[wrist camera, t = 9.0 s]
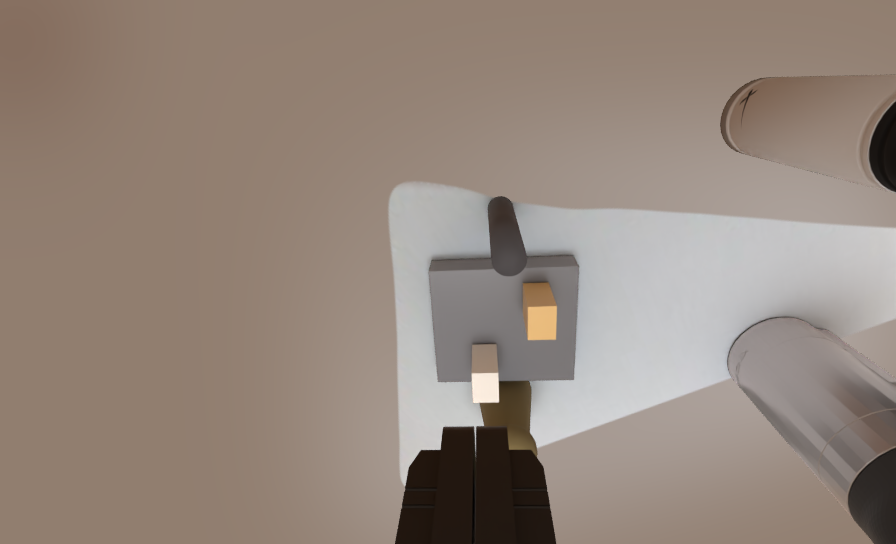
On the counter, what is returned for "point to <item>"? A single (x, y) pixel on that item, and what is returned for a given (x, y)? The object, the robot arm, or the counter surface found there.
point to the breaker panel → (501, 318)
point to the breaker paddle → (539, 311)
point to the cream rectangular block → (485, 373)
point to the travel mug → (819, 125)
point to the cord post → (505, 238)
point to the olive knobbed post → (512, 414)
